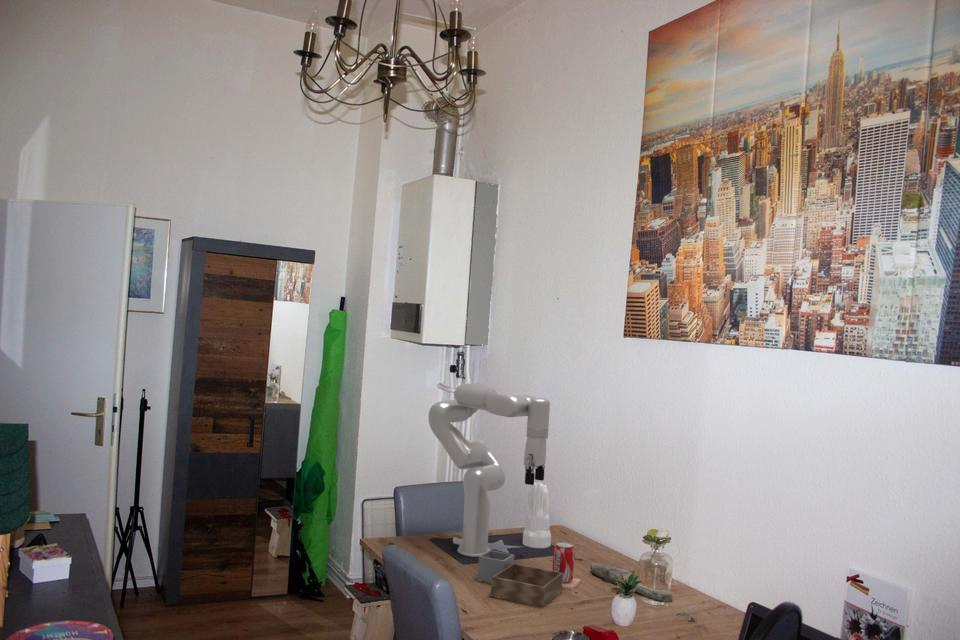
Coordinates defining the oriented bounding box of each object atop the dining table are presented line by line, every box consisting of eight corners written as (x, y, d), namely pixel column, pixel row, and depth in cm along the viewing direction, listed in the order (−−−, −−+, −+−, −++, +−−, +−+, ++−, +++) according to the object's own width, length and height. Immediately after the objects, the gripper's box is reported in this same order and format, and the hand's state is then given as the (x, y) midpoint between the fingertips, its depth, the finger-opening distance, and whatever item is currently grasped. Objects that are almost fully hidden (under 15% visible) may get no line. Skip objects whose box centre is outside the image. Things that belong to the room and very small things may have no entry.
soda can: (572, 584, 264) (574, 548, 264) (550, 582, 265) (553, 545, 265) (573, 578, 270) (576, 542, 271) (552, 576, 272) (555, 540, 272)
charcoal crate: (477, 580, 264) (478, 556, 265) (488, 573, 273) (489, 550, 273) (502, 585, 261) (503, 561, 261) (512, 578, 269) (514, 554, 269)
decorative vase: (532, 539, 320) (535, 476, 320) (555, 544, 314) (559, 480, 314) (517, 544, 312) (521, 479, 312) (540, 550, 305) (544, 484, 305)
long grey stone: (658, 609, 252) (678, 606, 258) (660, 593, 252) (681, 590, 258) (581, 571, 281) (602, 569, 286) (583, 556, 280) (604, 554, 286)
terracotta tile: (542, 584, 265) (543, 581, 265) (553, 576, 274) (553, 573, 274) (571, 590, 261) (572, 587, 261) (581, 581, 270) (581, 579, 270)
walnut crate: (490, 596, 250) (491, 576, 250) (511, 581, 266) (513, 563, 266) (543, 607, 243) (544, 587, 243) (561, 591, 259) (562, 573, 259)
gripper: (536, 429, 291) (533, 477, 290) (518, 434, 275) (515, 484, 275) (555, 432, 287) (552, 480, 287) (538, 437, 272) (535, 487, 272)
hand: (534, 482), depth 281 cm, fingers open, 9 cm apart
